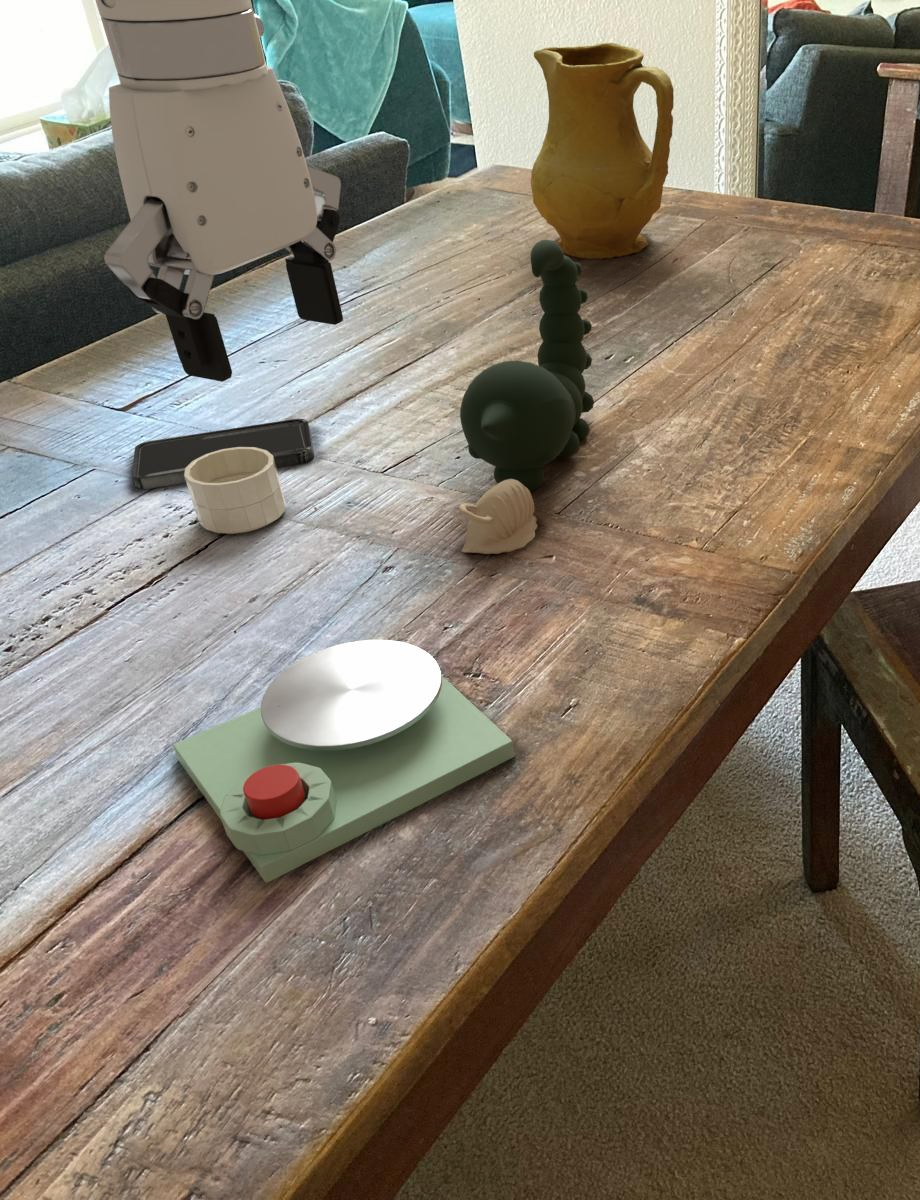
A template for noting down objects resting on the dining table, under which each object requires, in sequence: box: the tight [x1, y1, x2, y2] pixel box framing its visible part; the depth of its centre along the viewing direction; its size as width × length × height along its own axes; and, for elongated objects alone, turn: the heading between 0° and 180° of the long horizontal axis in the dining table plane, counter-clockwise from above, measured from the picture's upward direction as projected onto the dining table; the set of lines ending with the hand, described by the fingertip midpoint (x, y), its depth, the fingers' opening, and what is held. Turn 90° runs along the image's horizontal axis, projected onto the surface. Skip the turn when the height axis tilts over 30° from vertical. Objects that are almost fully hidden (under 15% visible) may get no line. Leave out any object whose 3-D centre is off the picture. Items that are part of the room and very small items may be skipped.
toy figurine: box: [459, 239, 595, 492], centre depth 106 cm, size 9×19×25 cm
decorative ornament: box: [458, 479, 538, 555], centre depth 96 cm, size 4×8×5 cm, turn 150°
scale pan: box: [260, 639, 443, 751], centre depth 76 cm, size 11×11×1 cm
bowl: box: [184, 447, 287, 535], centre depth 100 cm, size 7×7×5 cm
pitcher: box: [530, 42, 675, 260], centre depth 156 cm, size 17×19×25 cm
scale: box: [172, 675, 516, 884], centre depth 75 cm, size 16×14×3 cm
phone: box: [131, 418, 315, 490], centre depth 110 cm, size 8×1×15 cm
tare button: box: [243, 765, 305, 819], centre depth 68 cm, size 3×3×2 cm
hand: (268, 347), depth 75 cm, fingers open, 9 cm apart
